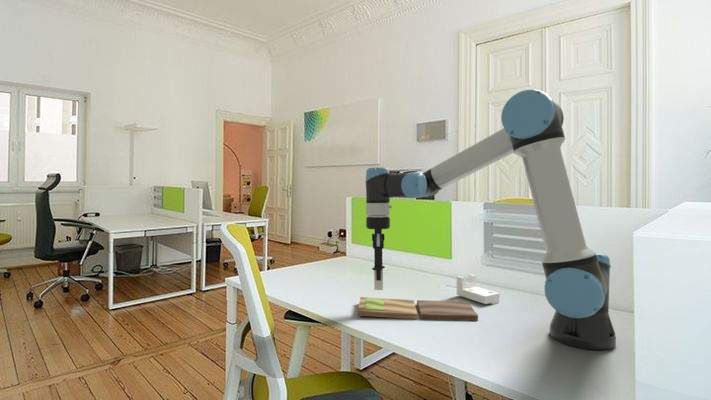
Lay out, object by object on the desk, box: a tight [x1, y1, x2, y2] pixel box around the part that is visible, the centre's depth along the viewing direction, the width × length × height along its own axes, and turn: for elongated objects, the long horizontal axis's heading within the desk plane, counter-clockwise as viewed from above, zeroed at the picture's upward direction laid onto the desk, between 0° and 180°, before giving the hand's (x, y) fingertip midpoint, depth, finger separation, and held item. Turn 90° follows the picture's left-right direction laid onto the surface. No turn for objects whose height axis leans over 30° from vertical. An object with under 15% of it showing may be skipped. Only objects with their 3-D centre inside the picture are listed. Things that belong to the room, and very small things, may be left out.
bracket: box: [456, 273, 500, 305], centre depth 137 cm, size 13×7×8 cm, turn 31°
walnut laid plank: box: [416, 299, 479, 321], centre depth 124 cm, size 14×17×2 cm
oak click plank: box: [357, 296, 418, 320], centre depth 125 cm, size 14×18×2 cm
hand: (378, 289), depth 125 cm, fingers closed
